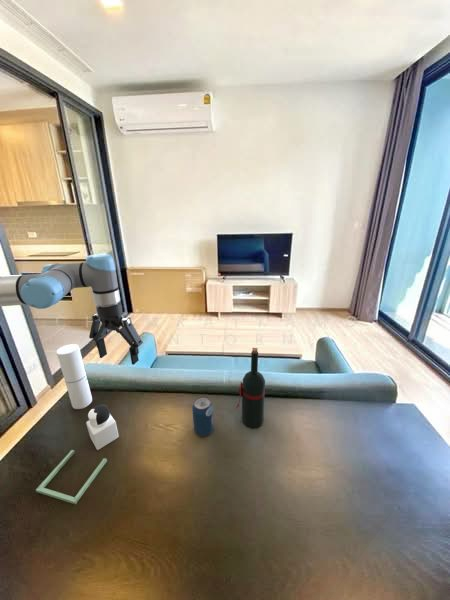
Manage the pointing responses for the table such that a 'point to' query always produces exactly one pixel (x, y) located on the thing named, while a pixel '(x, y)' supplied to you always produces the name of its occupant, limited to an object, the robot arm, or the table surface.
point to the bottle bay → (63, 496)
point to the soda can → (202, 416)
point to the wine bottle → (252, 395)
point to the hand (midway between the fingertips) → (119, 359)
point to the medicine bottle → (101, 426)
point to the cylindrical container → (74, 375)
